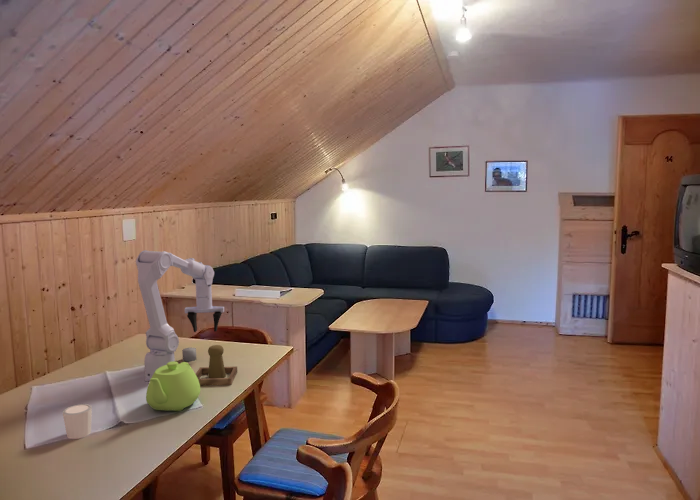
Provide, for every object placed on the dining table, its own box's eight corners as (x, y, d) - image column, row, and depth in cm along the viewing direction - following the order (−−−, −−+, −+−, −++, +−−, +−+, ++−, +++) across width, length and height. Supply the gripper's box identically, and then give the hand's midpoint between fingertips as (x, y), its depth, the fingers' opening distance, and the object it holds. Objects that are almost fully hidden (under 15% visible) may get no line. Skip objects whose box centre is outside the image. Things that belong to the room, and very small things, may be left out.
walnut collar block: (191, 385, 171) (191, 380, 170) (200, 372, 182) (199, 367, 182) (231, 384, 171) (231, 378, 171) (237, 371, 183) (237, 366, 183)
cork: (222, 380, 175) (221, 348, 174) (205, 379, 176) (203, 348, 175) (228, 373, 181) (227, 343, 180) (211, 373, 182) (210, 343, 181)
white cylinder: (86, 425, 143) (84, 401, 142) (98, 433, 138) (96, 407, 137) (60, 435, 137) (58, 409, 137) (71, 442, 133) (69, 416, 132)
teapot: (178, 424, 143) (175, 378, 141) (128, 420, 145) (125, 376, 144) (211, 393, 165) (209, 353, 163) (167, 390, 167) (165, 351, 165)
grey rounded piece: (181, 362, 194) (180, 351, 194) (184, 357, 199) (184, 347, 199) (194, 361, 195) (194, 351, 194) (197, 357, 200) (197, 347, 199)
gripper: (225, 293, 201) (226, 327, 202) (187, 294, 200) (189, 328, 202) (221, 297, 194) (223, 332, 195) (182, 298, 193) (184, 333, 195)
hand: (205, 331), depth 198 cm, fingers open, 7 cm apart
